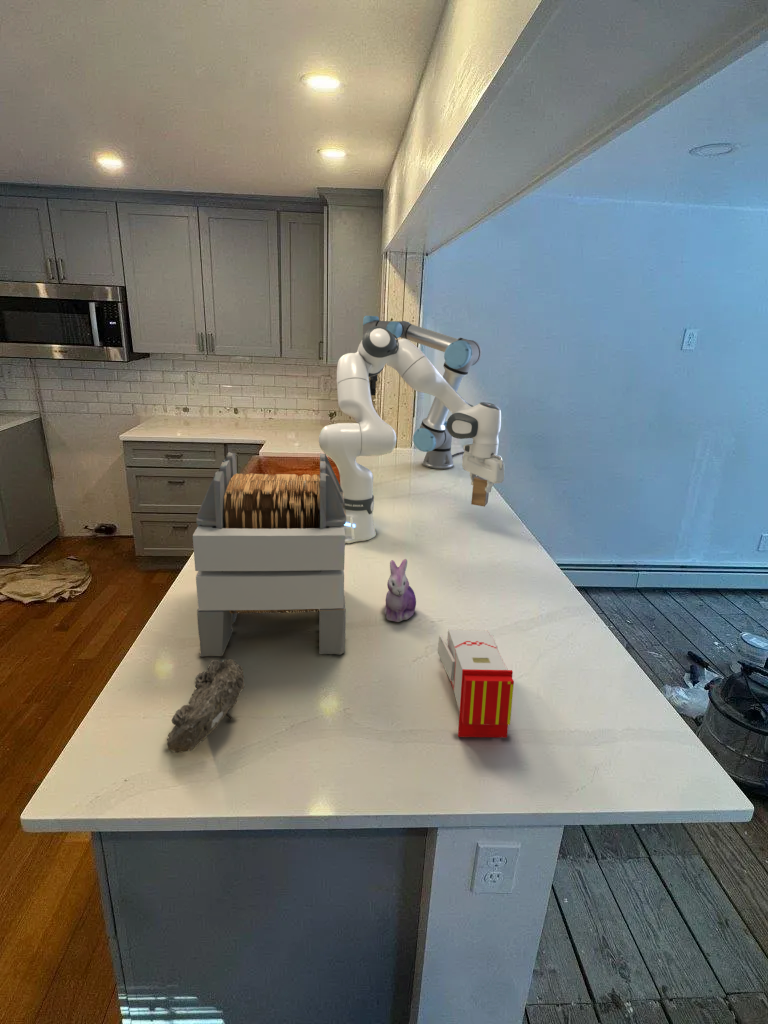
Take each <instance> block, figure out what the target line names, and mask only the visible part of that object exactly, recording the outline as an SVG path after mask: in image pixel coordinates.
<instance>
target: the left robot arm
mask: <svg viewBox="0 0 768 1024" xmlns="http://www.w3.org/2000/svg"><path fill="white" fill-rule="evenodd" d="M336 365H337V366H336V391H337V392H336V393H337V404H338V407H339V409H340V411H341V412H342V413H343V414H344V415H345V416H348V417H350V418H352V419H353V420H354V421H355V422H337V423H331V424H327V425H324V427H322V429H321V430H320V432H319V435H318V444H319V447H320V450H321V451H322V452H323V454H326V456H327V457H329V458H330V459H331V460H332V462H333V463H334V464H335V466H336V467H337V470H338V474H339V484H340V486H341V489H342V491H343V496H344V503H345V511H346V523H345V524H344V530H345V544H352V543H357V542H365V541H368V540H372V539H373V538H375V537H376V535H377V532H376V528H375V523H374V513H373V512H374V509H375V496H374V474H373V472H372V471H371V469H369V468H368V467H366V466H364V465H362V464H360V463H359V462H357V458H358V457H380V456H384V455H389V454H391V453H392V452H393V451H394V449H395V448H396V446H397V440H398V439H397V433H396V431H395V429H394V428H393V427H392V426H391V425H390V424H389V423H387V422H386V421H385V420H384V419H382V417H381V416H380V415H379V414H378V412H377V411H376V408H375V407H374V405H373V401H372V400H373V399H372V395H371V393H370V382H369V381H370V377H372V376H375V375H377V376H378V375H379V374H380V373H381V372H382V371H383V370H384V369H385V366H388V367H390V368H392V369H394V370H395V371H396V372H397V374H399V376H400V378H401V379H403V381H404V382H405V383H406V384H407V385H408V386H409V387H410V388H412V389H413V390H414V391H415V392H418V393H422V394H428V395H430V396H433V397H434V398H435V397H436V398H438V399H439V400H440V401H441V402H442V403H443V404H444V405H445V406H446V407H447V408H448V409H449V412H450V413H451V415H450V416H449V417H447V419H446V421H447V430H448V432H449V434H450V435H451V436H452V438H455V439H457V440H463V439H472V443H468V444H464V445H463V452H464V451H465V452H464V453H463V454H462V459H461V460H462V461H461V462H462V463H461V466H462V470H464V471H466V472H468V473H469V477H470V481H471V482H470V486H473V482H474V478H475V477H476V476H479V477H481V478H484V479H486V480H487V483H488V485H487V487H485V490H484V491H485V492H487V493H489V494H490V493H491V492H492V488H493V486H494V485H495V484H502V483H503V482H504V480H505V462H504V460H503V458H502V456H501V455H498V452H499V443H500V441H499V435H500V433H501V426H502V411H501V408H500V407H499V406H498V405H496V404H495V403H491V402H486V401H480V402H478V403H477V404H476V405H472V404H470V403H468V402H467V401H466V400H465V399H464V398H463V397H462V396H461V394H459V392H458V391H457V392H456V391H455V390H454V389H453V388H452V386H451V385H450V384H449V383H448V382H447V381H446V380H445V379H444V378H443V375H442V374H441V373H440V372H439V370H438V369H437V368H436V367H435V366H434V364H433V363H432V361H431V360H430V359H429V358H428V357H427V355H426V354H425V353H424V352H423V351H422V350H421V348H419V347H418V346H416V345H415V344H414V343H413V341H410V340H408V339H404V338H397V337H396V336H395V335H394V334H392V333H391V332H390V331H389V330H387V329H386V328H383V327H380V326H374V327H372V328H370V329H369V330H368V331H367V332H366V333H365V334H364V336H363V335H362V339H361V341H360V343H359V344H358V347H357V350H356V352H348V353H345V354H342V355H341V356H340V357H339V359H338V361H337V364H336Z"/></svg>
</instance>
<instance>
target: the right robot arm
mask: <svg viewBox="0 0 768 1024" xmlns="http://www.w3.org/2000/svg"><path fill="white" fill-rule="evenodd" d="M362 320H363V321H362V337H363V336H364V334H365V333H366V332H367V331H368V330H369V329H370V328H372V327H374V326H380V327H383V328H386V329H387V330H389V331H390V332H391V333H392V334H394V335H395V336H396V337H397V339H403V338H404V339H408V340H409V341H410V342H412V343H413V342H414V343H417V344H418V345H419V344H420V345H422V346H425V347H428V348H431V349H434V350H437V351H439V352H443V354H444V355H443V357H444V363H443V369H444V372H443V375H442V377H443V378H444V379H445V380H446V381H447V382H448V383H449V384H450V385H451V386H452V388H453V389H454V390H455V391H456V392H457V393H458V390H459V388H460V385H461V383H462V380H463V378H464V377H466V376H468V374H469V371H470V369H471V367H472V366H474V365H477V363H478V362H479V361H480V360H481V358H482V355H483V352H482V347H481V346H480V344H479V343H478V342H477V341H476V340H472V339H467V338H464V337H459V338H455V337H453V336H450V335H446V334H444V333H441V332H436V331H434V330H432V329H431V330H430V329H428V328H424V327H421V326H419V325H416V324H412V323H411V322H410V321H406V320H401V321H399V320H398V321H397V320H396V321H395V320H380V317H379V316H377V315H365V316H364V317H363V319H362ZM378 380H379V379H378V374H377V375H375V376H372V377H369V384H370V393H371V396H376V392H377V391H376V388H377V387H376V386H377V381H378ZM449 412H450V410H449V409H448V408H447V407H446V406H445V405H444V404H443V403H442V402H441V401H440V400H439V399H438V398H436V397H435V396H434V399H433V401H432V404H431V406H430V409H429V412H428V414H427V416H426V417H425V418H423V419H422V421H421V423H420V425H419V428H417V429H416V431H414V433H413V435H412V441H413V444H414V446H415V448H416V449H418V450H419V451H421V452H424V453H426V454H425V455H424V458H423V464H422V465H423V466H424V467H426V468H428V469H433V470H448V469H452V468H453V467H454V460H453V457H455V456H458V455H463V453H464V452H465V451H464V450H463V451H461V452H456V453H454V454H452V440H453V436H451V435H450V434H449V432H448V430H447V419H448V415H449Z"/></svg>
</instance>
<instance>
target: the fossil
mask: <svg viewBox="0 0 768 1024" xmlns="http://www.w3.org/2000/svg"><path fill="white" fill-rule="evenodd" d="M243 670H244V669H243V667H242V665H240V664H237V662H236V661H235V660H234V659H232V658H231V659H227V658H226V659H224V660H223V661H222V660H217V659H212V660H211V661H210V663H209V665H208V666H207V671H201V672H199V673H198V674H197V675H196V676H195V680H194V684H195V685H194V687H195V689H194V690H193V693H192V694H191V697H190V698H189V700H188V704H184V705H182V706H181V707H180V709H177V710H176V711H175V713H174V715H173V716H172V718H171V723H172V724H173V727H172V730H171V731H170V732H168V734H167V738H166V741H167V742H166V745H167V749H168V750H169V751H173V752H174V753H176V754H178V753H182V752H188V751H189V752H192V751H193V750H195V748H196V747H197V746H199V744H200V743H201V742H203V741H204V740H205V739H206V738H207V737H208V736H209V735H210V734H211V733H212V732H214V730H215V729H217V727H218V726H219V724H220V722H221V721H222V720H223V719H224V718H225V716H226V717H227V719H229V720H233V717H232V715H230V714H229V710H230V709H231V708H234V706H235V704H236V703H237V702H238V699H239V697H240V695H241V693H242V691H243V690H245V689H244V688H245V675H244V671H243Z"/></svg>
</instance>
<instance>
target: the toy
mask: <svg viewBox="0 0 768 1024" xmlns="http://www.w3.org/2000/svg"><path fill="white" fill-rule="evenodd" d="M446 640H447V643H446V641H445V639H444V636H443V635H442V634H439V637H438V646H437V656H438V657H439V659H440V661H441V663H442V666H443V668H444V670H445V672H446V674H447V677H448V679H449V681H450V684H451V687H452V690H453V693H454V697H455V701H456V705H457V708H458V711H459V714H458V715H459V716H458V730H457V731H458V732H457V737H458V738H508V731H509V726H510V725H511V717H512V707H513V697H514V696H513V695H514V684H515V680H514V679H513V673H514V671H513V670H512V669H508V667H507V665H506V662H505V661H504V659H503V658H502V655H501V653H500V651H499V649H498V647H497V643H496V639H495V637H494V635H493V634H491V632H490V631H489V629H467V628H466V629H465V628H463V629H461V628H460V629H459V628H448V630H447V639H446Z"/></svg>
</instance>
